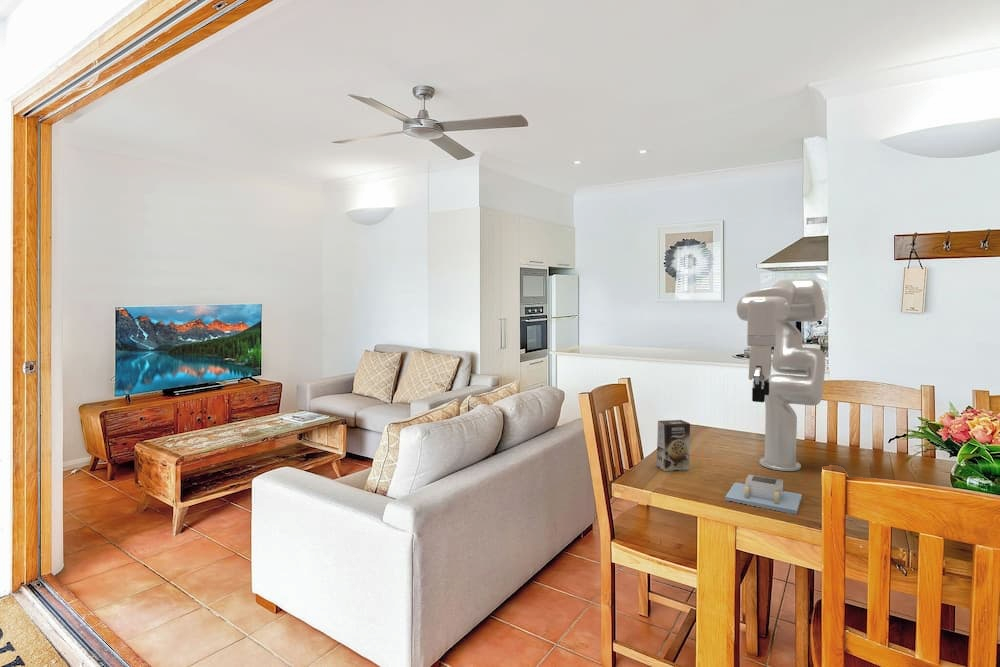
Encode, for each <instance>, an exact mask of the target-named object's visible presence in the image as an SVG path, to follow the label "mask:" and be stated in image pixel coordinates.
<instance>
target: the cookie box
mask: <svg viewBox="0 0 1000 667" xmlns="http://www.w3.org/2000/svg"><path fill="white" fill-rule="evenodd" d="M656 442H657V444H656V447H657V448H656V451H657V452H656V466H657V467H658V466H659V467H660V468H659V467H658V468H659V469H661V470H662V469H663V470H662V471H663V472H673V470H679V471H690V453H691V452H690V450H691V446H690V445H691V443H690V442H691V423H689V422H687V421H686V420H683V419H672V420H671V419H668V420H667V419H666V420H657V441H656Z"/></svg>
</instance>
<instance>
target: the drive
mask: <svg viewBox="0 0 1000 667" xmlns="http://www.w3.org/2000/svg"><path fill="white" fill-rule="evenodd" d="M744 482H745V483H744V484H745V486H746V487H749V496H752V497H757V498H763V499H768V500H774V492H779V502H780V501H781V498H782V494H783V491H784V480H783V479H778V478H772V477H765V476H761V475H760V476H759V475H753V474H748V475H747V477H746V478H745V481H744Z"/></svg>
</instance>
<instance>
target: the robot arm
mask: <svg viewBox="0 0 1000 667" xmlns="http://www.w3.org/2000/svg"><path fill="white" fill-rule="evenodd" d="M824 298H825V297H824V294H823V290H822V288H821V285H820V284H819V282H818V281H816V280H814V279H812V278H810V279H809V278H807V279H804V278H803V279H783V280H779V281H777V282H775V284H774V285H772V286H771V287H766V288H763V289H759V290H755V291H750V292H746V293H745V294H744V295H742V296H741V297H740V299H739V300H738V302H737V305H736V314H737V317H738V318H739V320H742V321H744V322H747V330H746V332H747V338H746V339H747V340H746V342H747V343H746V344H747V345H746V346H747V347H750V349H749V359H748V360H749V361H748V362H749V364H748V379H749V380H750V381H752V380H753V381H752V388H751V391H752V392H751V398H752V399H751V401H752V402H755V403H765V425H764V426H765V427H764V428H765V429H764V431H765V433H764V457H761V458H759V464H760V465H761V466H762V467H764V468H767V469H771V470H775V471H781V472H795V471H800V470H801V469H802V465H801V463H800V462H798V461H797V433H798V432H797V431H798V430H797V429H798V426H797V425H798V417H797V414H796V412H795V410H794V409H793V407H792V406H791V405H792V404H793V405H801V406H802V405H803V406H817V405H819V404H820V403H821V401H822V399H823V392H824V381H825V375H826V374H825V372H826V356H825V354H824V352H823V350H821V349H819V348H816V347H803V341H804V336H803V334H802V333H801V331H800V330H799V329H798V327H796V326H795V325H794V324H793V323H792V322H805V323H806V322H810V323H811V322H812V323H813V322H814V323H816V322H820V321H822V320H823V319H824V317H825V315H826V309H827V308H826V303H825V299H824ZM772 348H773V354H772ZM772 369H773V370H774V371H775V372H776V373H778V374H772V373H771V372H772ZM779 373H780V374H779ZM790 404H791V405H790Z"/></svg>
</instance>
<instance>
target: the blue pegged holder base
mask: <svg viewBox="0 0 1000 667" xmlns="http://www.w3.org/2000/svg"><path fill="white" fill-rule="evenodd" d="M802 497H803V494H802V493H798V492H791V491H787V490H783V494H782V498H781V501H780V502H779V492H774V500H768V499H763V498H757V497H752V496H749V487H746V486H745V483H742V482H734V483H733V484H732V486H731V487H730V489H729V490H728V492H727V494H726V495H725V496H724V501H725V500H726V501H725V502H729V501H733V502H732V503H734V502H737V503H736V504H739V503H743V504H742V505H744V504H747V505H746V506H749V505H751V506H750V507H754V506H756V508H759V507H761V508H760V509H764V508H766V510H769V509H771V511H774V510H776V511H775V512H779V511H780V513H784V512H785V513H786V514H790V515H796V516H797V515H798V512H799V509H800V506H799V505H801V502H802V499H803V498H802ZM785 513H784V514H785Z"/></svg>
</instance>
